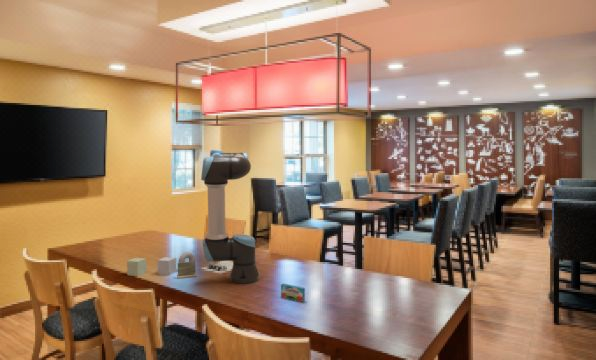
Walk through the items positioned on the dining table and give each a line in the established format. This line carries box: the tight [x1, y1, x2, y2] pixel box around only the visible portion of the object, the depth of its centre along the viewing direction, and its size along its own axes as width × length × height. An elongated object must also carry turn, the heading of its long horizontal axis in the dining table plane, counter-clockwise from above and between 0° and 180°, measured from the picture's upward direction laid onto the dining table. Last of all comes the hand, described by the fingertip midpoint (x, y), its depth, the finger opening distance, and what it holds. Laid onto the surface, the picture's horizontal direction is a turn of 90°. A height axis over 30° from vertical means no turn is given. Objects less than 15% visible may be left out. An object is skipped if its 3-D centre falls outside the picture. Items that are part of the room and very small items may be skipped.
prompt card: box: [176, 260, 198, 280], centre depth 220 cm, size 4×10×8 cm, turn 109°
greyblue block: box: [157, 256, 177, 276], centre depth 227 cm, size 7×7×8 cm
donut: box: [178, 251, 196, 263], centre depth 234 cm, size 10×3×10 cm, turn 134°
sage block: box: [126, 257, 148, 277], centre depth 225 cm, size 7×7×8 cm
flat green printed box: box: [280, 283, 306, 303], centre depth 186 cm, size 12×2×6 cm, turn 57°
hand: (217, 212), depth 254 cm, fingers closed
